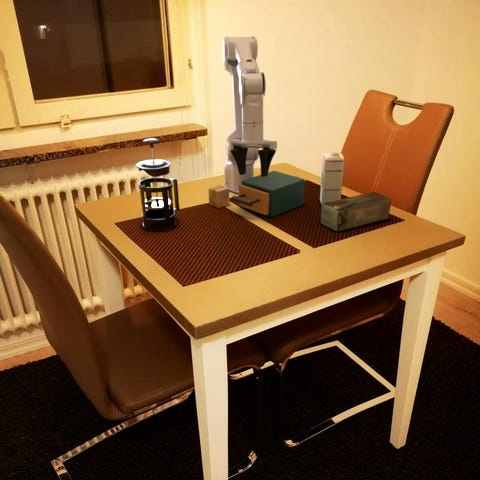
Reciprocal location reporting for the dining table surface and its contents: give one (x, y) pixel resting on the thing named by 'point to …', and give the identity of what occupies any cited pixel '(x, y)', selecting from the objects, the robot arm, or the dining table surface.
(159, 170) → the french press
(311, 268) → the dining table surface
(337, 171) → the syrup box
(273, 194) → the cabinet
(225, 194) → the block
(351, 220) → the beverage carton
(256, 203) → the drawer
